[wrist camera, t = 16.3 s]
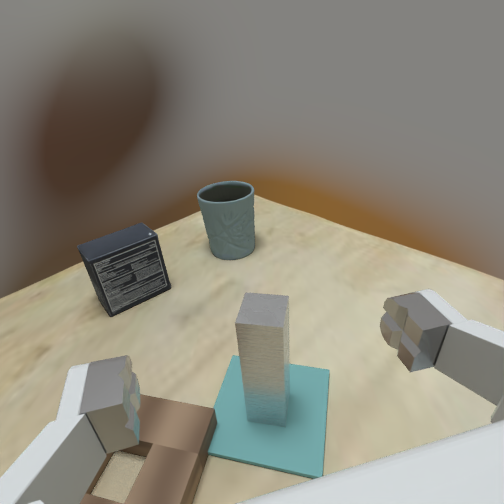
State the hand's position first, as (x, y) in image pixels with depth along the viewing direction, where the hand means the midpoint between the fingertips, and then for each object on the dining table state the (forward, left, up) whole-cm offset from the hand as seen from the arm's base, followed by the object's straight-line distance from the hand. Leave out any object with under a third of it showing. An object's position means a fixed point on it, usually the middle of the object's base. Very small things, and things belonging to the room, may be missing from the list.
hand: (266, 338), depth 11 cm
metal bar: (-4, +14, -26) cm, 30 cm away
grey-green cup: (-18, +46, -27) cm, 56 cm away
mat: (-4, +14, -26) cm, 30 cm away
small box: (-30, +30, -27) cm, 50 cm away
